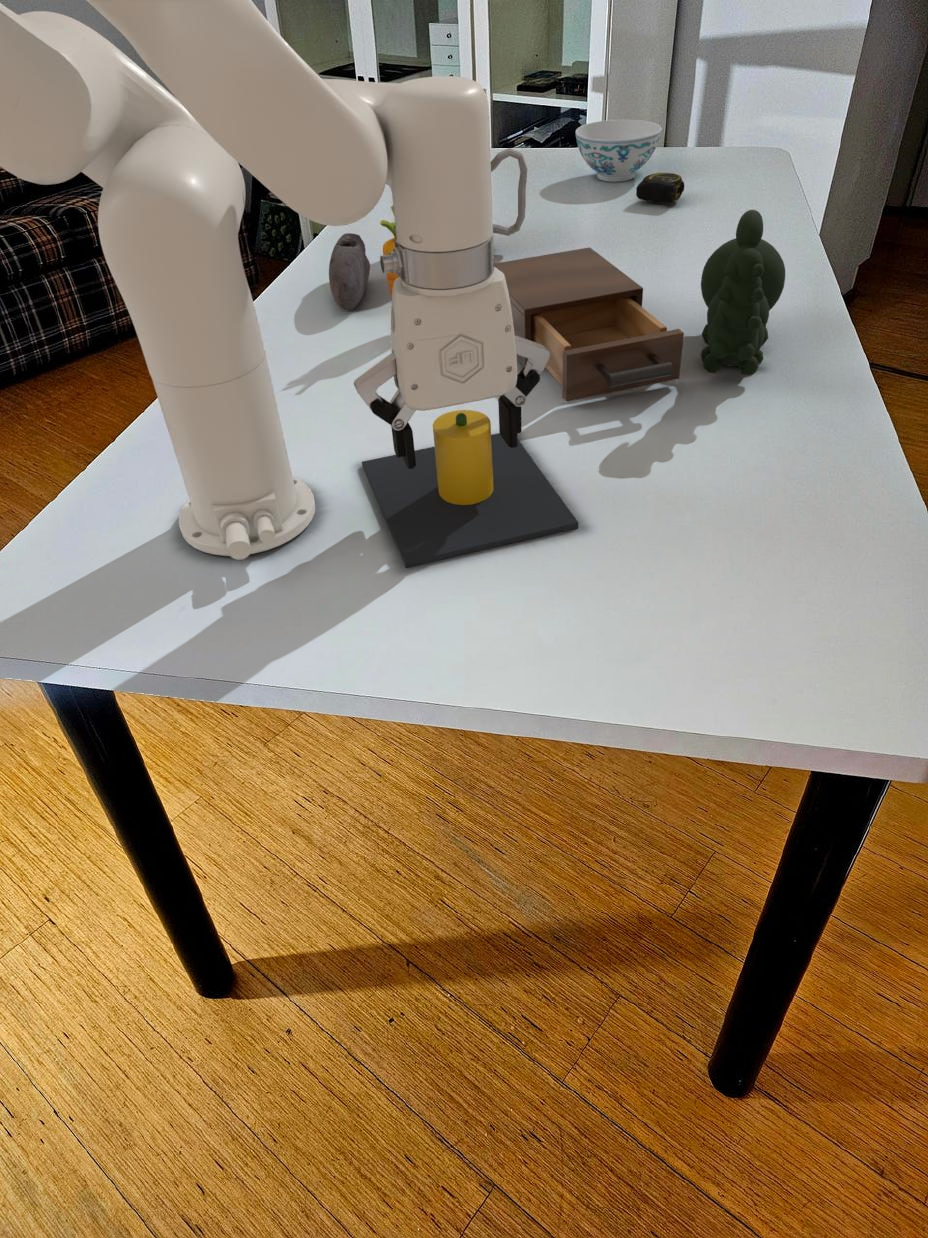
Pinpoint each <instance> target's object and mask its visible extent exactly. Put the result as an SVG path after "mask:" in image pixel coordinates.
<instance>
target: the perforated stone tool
mask: <svg viewBox="0 0 928 1238" xmlns="http://www.w3.org/2000/svg"><path fill="white" fill-rule="evenodd" d="M370 270H371V263H370V260H369V258H368V257H367V255H366V244H365V242H364V240H363V239H362V238H361V235H359V234H357V233H349V232H347V233H343V234H342V235H341V236H340V237H339V238H338V239H337V241H336V243H335V244H334V247H333V249H332V252H331V255H330V259H329V264H328V282H329V287H330V292H331V295H332V297H333V299H334V301H335V302H336V305H337V306H338V308H340V310H342V311H343V312H349V311H351V310H353V309H355V308H356V307H357V306H358V305H359V303H360V302H361V300H362V298H363V297H364V294H365V292H366V290H367V285H368V282H369V279H370Z"/></svg>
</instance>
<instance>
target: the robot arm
mask: <svg viewBox="0 0 928 1238" xmlns="http://www.w3.org/2000/svg"><path fill="white" fill-rule="evenodd" d="M85 1H86V2H88V4H89V5H91V6H92V8H94V9H95V10H96V11H97V12H98V13H99V14H100V15H102V17H104V18H105V19H106V20H107V21H108V22H109V23H110V24H111V25H112V26H113V27H114V28H115V29H116V30H117V31H118V32H120V33H121V34H122V35H123V36H124V38H125V39H126V40H127V42H129V43H130V45H131V46H132V47H133V49H134V50H135V51H136V53H137V54H138V55H139V57H140V59H142V61H143V62H144V63H145V64H146V66H147V67H148V68H149V70H151V71H152V72H153V73H154V75H155V76H156V77H157V78H158V79H159V80H160V81H161V82H162V83H163V84H164V85H165V87H166V88H165V87H164V86H162V85H161V84H160V83H159V82H158V81H157V80H155V78H153V77H152V76H151V75H149V73H147V72H146V71H145V70H144V69H142V68H141V66H139V65H138V64H137V63H135V62H134V61H133V60H132V59H131V58H130V57H129V56H127V55H126V54H125V53H124V52H122V50H120V49H119V48H118V47H117V46H116V45H115V44H114V43H112V42H110V40H108V39H107V38H106V37H104V36H103V35H101V34H100V33H99V32H98V31H96V30H94V29H92V28H91V27H90V26H88V25H86V24H84V23H82V22H81V21H79V20H77V19H75V18H73V17H70V16H68V15H65V14H62V13H58V12H54V11H47V10H37V11H36V10H35V11H28V12H24V13H20V14H18V13H16V12H14V11H13V10H11V9H10V8H8V7H6V6H5V5H4V4H2V3H1V2H0V168H1V169H3V170H5V171H7V172H8V173H10V174H12V175H13V176H15V177H16V178H18V179H20V180H23V181H26V182H29V183H33V184H36V185H44V186H48V185H57V184H61V183H66V182H67V181H69V180H72V179H73V178H75V177H76V176H77V175H79V174H80V173H82V174H84V175H85V176H87V177H88V178H89V179H90V180H92V181H93V182H95V183H96V184H97V185H99V186H100V187H101V188H102V191H101V194H100V197H99V203H98V210H97V227H98V236H99V237H98V238H99V242H100V246H101V250H102V253H103V256H104V259H105V262H106V264H107V266H108V267H107V268H108V269H109V272H110V274H111V277H112V278H113V280H114V282H115V285H116V287H117V289H118V291H119V294H120V295H121V298H122V301H123V302H124V304H125V307H126V309H127V311H128V314H129V317H130V319H131V322H132V325H133V327H134V330H135V333H136V336H137V338H138V342H139V345H140V347H141V351H142V355H143V357H144V360H145V364H146V366H147V369H148V373H149V376H150V378H151V380H152V384H153V387H154V390H155V393H156V397H157V399H158V403H159V406H160V408H161V409H160V410H161V413H162V416H163V419H164V423H165V425H166V429H167V433H168V436H169V438H170V442H171V445H172V448H173V451H174V454H175V455H174V456H175V459H176V460H177V464H178V467H179V470H180V474H181V477H182V480H183V483H184V486H185V490H186V493H187V496H188V500H187V502H185V504H183V507H182V508H181V510H180V511H179V516H178V526H179V530H180V532H181V535H182V537H183V539H184V540H185V542H186V543H187V544H189V545H190V546H191V547H193V549H196V550H199V551H200V552H203V553H207V554H209V555H215V556H223V557H230V558H232V559H234V560H237V561H239V560H240V561H241V560H245V559H247V558H248V557H249V556H250V555H254V554H258V553H262V552H267V551H269V550H271V549H274V548H277V547H280V546H282V545H284V544H285V543H288V542H289V541H291V540H293V539H294V538H295V537H297V536H298V535H300V534H301V533H302V532H303V531H304V530H305V529H306V528H307V527H308V526H309V524H311V522H312V521H313V519H314V516H315V513H316V501H315V497H314V493H313V491H312V489H311V488H310V486H308V485H307V484H306V483H305V482H303V481H302V480H300V479H298V478H297V477H294V476H293V472H292V469H291V464H290V459H289V455H288V450H287V445H286V441H285V440H286V439H285V437H284V431H283V426H282V422H281V418H280V412H279V408H278V404H277V399H276V395H275V390H274V386H273V381H272V375H271V371H270V368H269V363H268V362H269V361H268V358H267V353H266V349H265V346H264V342H263V337H262V331H261V327H260V324H259V320H258V315H257V312H256V307H255V303H254V299H253V296H252V293H251V289H250V286H249V283H248V279H247V276H246V272H245V270H244V269H245V267H244V264H243V259H242V256H241V250H240V242H239V232H240V229H241V228H240V227H241V221H242V218H243V215H244V211H245V206H246V183H245V178H244V174H243V171H242V169H241V167H240V166H242V167H243V168H244V169H245V170H246V171H247V172H249V173H250V175H252V176H253V177H254V178H255V179H256V180H257V181H259V182H260V183H261V184H262V185H263V186H264V187H265V188H266V189H267V190H269V192H271V193H272V194H273V195H274V196H275V197H277V198H278V199H279V200H280V201H281V202H282V203H284V205H286V206H287V207H288V208H290V209H291V210H292V211H294V212H295V213H297V214H298V215H300V216H301V217H303V218H305V219H307V220H309V221H311V222H313V223H316V224H320V225H323V226H329V227H340V226H342V227H343V226H348V225H350V224H353V223H356V222H357V223H358V222H359V221H360V220H362V219H363V218H365V217H367V215H369V214H370V213H371V212H372V211H373V210H374V209H375V207H376V206H377V204H378V203H379V202H380V200H381V198H382V196H383V194H384V192H385V188H386V186H388V187H389V188H390V190H391V196H392V206H393V208H394V214H393V216H394V222H395V228H396V238H397V240H395V247H394V250H393V252H389V254H388V255H383V254H382V255H380V256H379V261H380V268H381V271H382V273H383V274H386V273H390V272H392V273H393V274H396V273H397V274H398V276H399V278H396V279H395V281H394V284H393V291H392V296H391V303H390V304H391V305H390V346H391V347H390V351H391V353H390V354H388V355H387V356H386V357H384V358H383V359H381V360H380V361H379V362H378V363H376V364H375V365H373V366H372V367H371V368H369V369H368V370H366V371H365V372H364V373H362V374H361V375H360V376H358V377H356V378H355V379H354V382H353V387H354V388H355V391H356V393H357V394H358V396H359V397H360V398H361V399H362V401H363V402H364V403H365V404H366V406H367V407H368V408H369V409H370V410H371V412H372V414H373V415H374V416H376V417H378V418H379V419H381V420H382V421H384V422H385V423H387V425H390V427H391V435H392V442H393V445H392V446H393V450H394V455H396V456H397V458H400V457H402V458H403V460H404V462H405V464H406V466H407V468H408V469H412V468H414V467H415V466H416V460H415V451H416V449H415V442H414V441H415V440H414V432H413V428H412V426H411V425H410V422H409V421H411V418H412V417H413V416H414V414H415V412H416V411H421V412H423V411H424V412H425V411H431V410H432V411H433V410H438V409H442V408H443V409H444V408H448V407H453V406H454V407H455V406H459V405H464V404H469V403H473V402H474V403H475V402H479V401H484V400H489V399H494V398H498V400H497V401H498V429H499V430H498V431H499V432H498V433H500V435H501V436H502V438H503V439H504V441H505V442H506V444H507V445H508V446H509V447H511V448H515V447H517V439H518V434H521V433H522V429H523V428H522V407H523V406H525V404H526V403H527V397H528V396H529V395H530V393H531V392H532V391H533V390H534V388H536V386H537V385H538V384H539V383H540V381H541V375H542V373H543V371H544V370H545V369H546V368H545V366H546V364H547V361H548V359H549V357H550V352H549V351H548V349H547V348H546V347H545V346H544V345H542V344H539V343H536V342H533V341H530V340H527V339H524V338H522V337H519V336H516V335H514V326H513V318H512V311H511V304H510V299H509V293H508V288H507V283H506V279H505V276H504V274H503V273H502V272H501V271H500V270H498V269H497V268H495V267H494V264H495V260H494V259H495V257H494V256H495V255H494V233H493V224H494V223H493V190H492V172H491V161H492V160H491V159H492V157H491V156H492V155H491V132H490V131H491V130H490V129H491V128H490V127H491V126H490V125H491V124H490V108H489V107H490V106H489V100H488V96H487V94H486V91H485V89H484V88H483V86H482V85H481V84H480V83H479V82H478V81H476V80H473V79H470V78H468V77H464V76H457V75H456V76H455V75H454V76H453V75H439V76H438V75H435V76H427V77H419V78H413V79H408V80H405V81H403V82H376V81H363V80H353V79H341V78H329V79H323V78H321V76H319V74H317V72H316V71H315V70H313V68H312V67H311V66H309V64H308V63H307V62H306V61H305V60H303V58H302V57H301V56H300V55H299V54H298V53H297V52H296V51H295V50H294V48H293V47H291V45H290V44H289V43H288V42H287V41H286V40H285V39H284V38H283V37H282V36H281V34H280V33H279V32H278V31H277V30H276V29H275V27H273V25H272V24H271V22H269V20H268V19H267V18H266V17H265V15H264V14H263V13H262V12H261V11H260V9H259V8H258V6H256V4H255V3H254V2H253V0H85ZM167 89H168V90H169V91H168V90H167ZM516 354H517V355H520V356H523V357H526V358H528V361H527V364H526V366H525V367H524V366H523V367H522V368H521V370H520V371H519V372H518V359H517V355H516ZM392 378H393V381H394V384H395V385H394V386H395V387H396V388H397V390H396V392H395V393H394V395H393V396H392V398H391V399H390V401H388V400H387V399H385V398H383V397H382V396H380V395H379V394H378V393H377V390H378V389H379V387H381V386H382V385H383V384H386V382H387V381H389V380H391V379H392Z"/></svg>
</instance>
